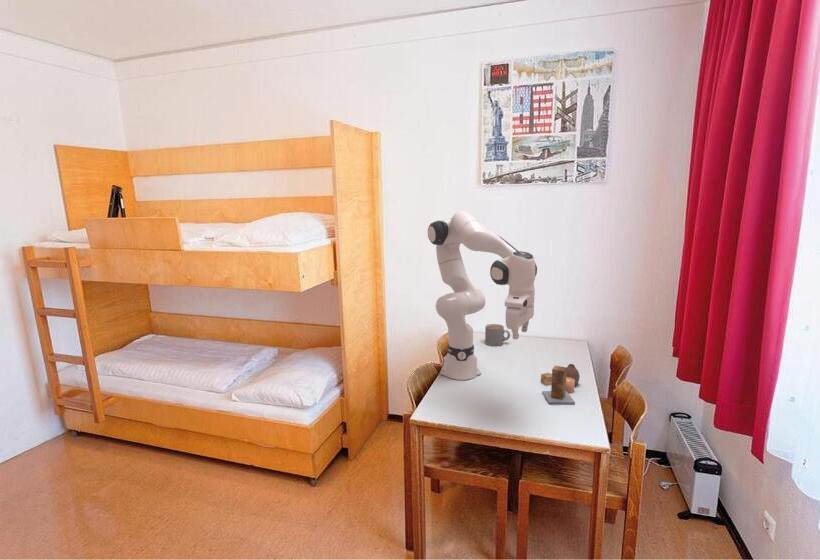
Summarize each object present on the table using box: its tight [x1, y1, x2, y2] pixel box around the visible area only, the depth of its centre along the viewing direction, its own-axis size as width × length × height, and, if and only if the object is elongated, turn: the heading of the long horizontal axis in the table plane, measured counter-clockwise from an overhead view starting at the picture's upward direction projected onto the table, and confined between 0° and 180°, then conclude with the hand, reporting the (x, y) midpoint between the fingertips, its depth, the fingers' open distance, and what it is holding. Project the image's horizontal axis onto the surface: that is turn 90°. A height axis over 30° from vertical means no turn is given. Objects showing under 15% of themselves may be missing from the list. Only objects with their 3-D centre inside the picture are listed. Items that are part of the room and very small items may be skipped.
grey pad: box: [541, 390, 576, 406], centre depth 173 cm, size 10×10×1 cm
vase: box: [566, 363, 581, 386], centre depth 186 cm, size 7×7×9 cm
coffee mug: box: [484, 323, 511, 348], centre depth 238 cm, size 13×10×10 cm
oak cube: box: [540, 372, 552, 387], centre depth 187 cm, size 4×4×4 cm
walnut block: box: [550, 365, 567, 400], centre depth 172 cm, size 4×4×12 cm
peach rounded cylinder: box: [565, 377, 576, 394], centre depth 180 cm, size 5×5×5 cm
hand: (520, 335), depth 155 cm, fingers open, 8 cm apart
